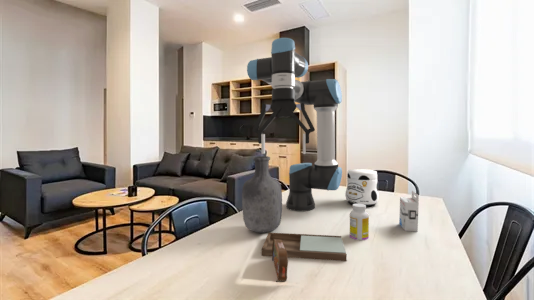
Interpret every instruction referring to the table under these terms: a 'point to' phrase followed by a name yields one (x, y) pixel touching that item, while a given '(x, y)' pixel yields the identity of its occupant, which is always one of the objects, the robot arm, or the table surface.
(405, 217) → the ink box
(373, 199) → the milk container
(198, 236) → the table surface
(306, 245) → the cover plate
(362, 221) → the supplement bottle
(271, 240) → the walnut case
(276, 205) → the vase
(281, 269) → the tin
